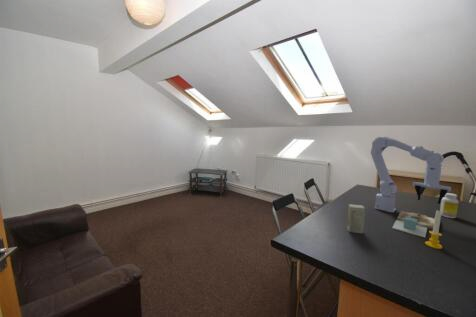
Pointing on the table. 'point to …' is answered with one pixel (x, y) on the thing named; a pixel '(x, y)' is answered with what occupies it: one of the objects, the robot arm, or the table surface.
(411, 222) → the teal cube
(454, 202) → the supplement bottle
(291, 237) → the table surface
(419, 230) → the coaster
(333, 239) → the table surface
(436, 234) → the candle
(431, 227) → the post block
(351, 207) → the skincare box
